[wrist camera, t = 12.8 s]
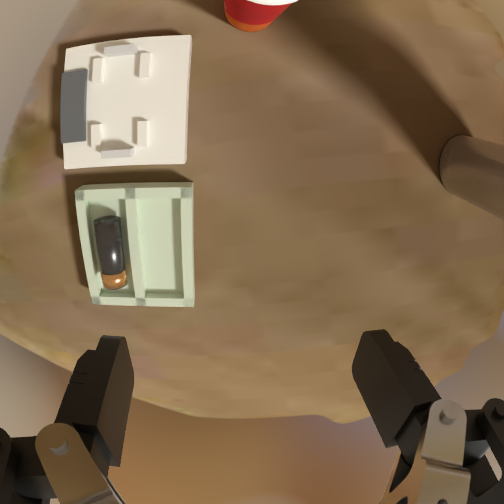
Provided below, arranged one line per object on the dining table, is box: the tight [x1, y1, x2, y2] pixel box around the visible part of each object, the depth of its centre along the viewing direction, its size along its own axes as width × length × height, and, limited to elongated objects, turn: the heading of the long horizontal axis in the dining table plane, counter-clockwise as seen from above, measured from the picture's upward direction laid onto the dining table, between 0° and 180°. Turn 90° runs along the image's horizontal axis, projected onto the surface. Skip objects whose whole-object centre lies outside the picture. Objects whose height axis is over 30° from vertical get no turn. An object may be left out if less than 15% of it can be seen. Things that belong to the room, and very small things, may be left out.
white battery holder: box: [60, 35, 192, 169], centre depth 28 cm, size 14×14×4 cm
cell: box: [93, 215, 128, 290], centre depth 34 cm, size 3×9×3 cm, turn 177°
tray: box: [75, 182, 195, 307], centre depth 36 cm, size 14×15×3 cm
